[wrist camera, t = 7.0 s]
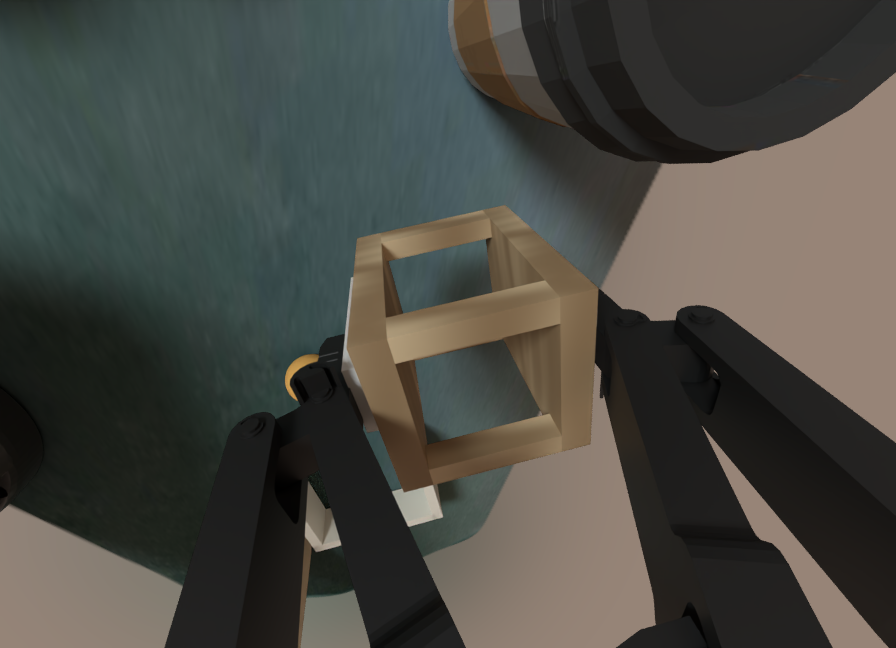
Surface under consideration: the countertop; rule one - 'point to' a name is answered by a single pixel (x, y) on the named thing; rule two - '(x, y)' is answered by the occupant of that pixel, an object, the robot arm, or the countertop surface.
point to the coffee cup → (677, 68)
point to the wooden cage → (475, 344)
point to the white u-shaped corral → (412, 503)
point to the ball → (296, 366)
